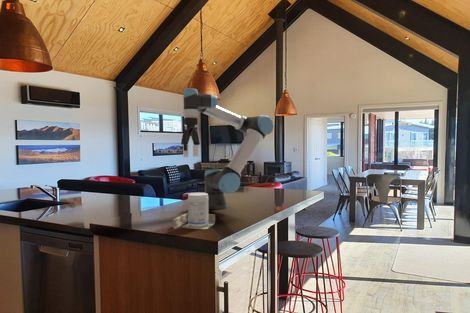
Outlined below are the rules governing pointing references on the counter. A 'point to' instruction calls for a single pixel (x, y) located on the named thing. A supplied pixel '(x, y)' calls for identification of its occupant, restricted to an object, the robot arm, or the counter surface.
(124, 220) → the counter surface
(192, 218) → the supplement tub
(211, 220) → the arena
